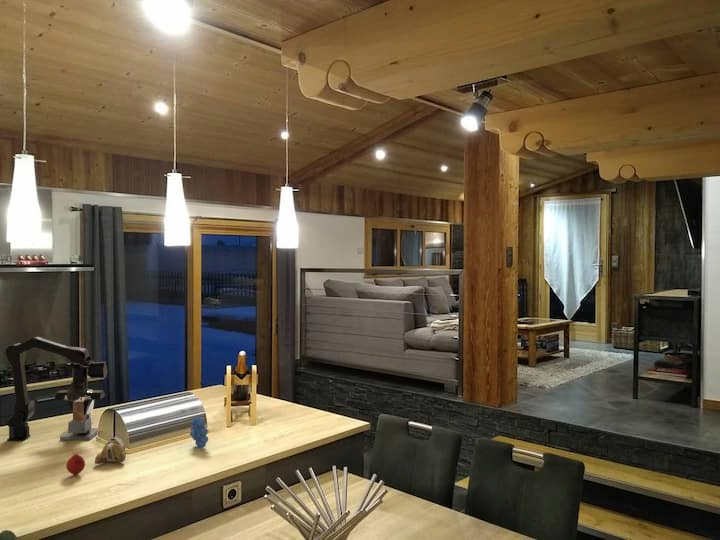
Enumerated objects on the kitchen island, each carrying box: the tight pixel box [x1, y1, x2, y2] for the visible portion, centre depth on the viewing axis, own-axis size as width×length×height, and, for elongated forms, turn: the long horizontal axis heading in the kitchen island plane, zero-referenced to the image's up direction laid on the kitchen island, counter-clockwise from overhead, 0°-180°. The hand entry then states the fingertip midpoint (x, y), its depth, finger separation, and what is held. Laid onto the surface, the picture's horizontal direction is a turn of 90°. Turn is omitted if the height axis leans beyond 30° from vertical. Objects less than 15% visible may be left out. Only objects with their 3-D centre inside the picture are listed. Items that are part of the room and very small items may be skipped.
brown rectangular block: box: [72, 400, 87, 422], centre depth 246 cm, size 4×4×9 cm
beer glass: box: [78, 388, 95, 425], centre depth 264 cm, size 7×7×15 cm
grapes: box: [189, 416, 209, 448], centre depth 235 cm, size 12×7×12 cm, turn 44°
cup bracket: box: [59, 413, 99, 441], centre depth 247 cm, size 12×12×8 cm
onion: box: [66, 452, 86, 476], centre depth 203 cm, size 6×6×8 cm
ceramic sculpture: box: [94, 435, 127, 465], centre depth 218 cm, size 11×9×15 cm
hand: (79, 415), depth 246 cm, fingers closed on brown rectangular block, 4 cm apart
